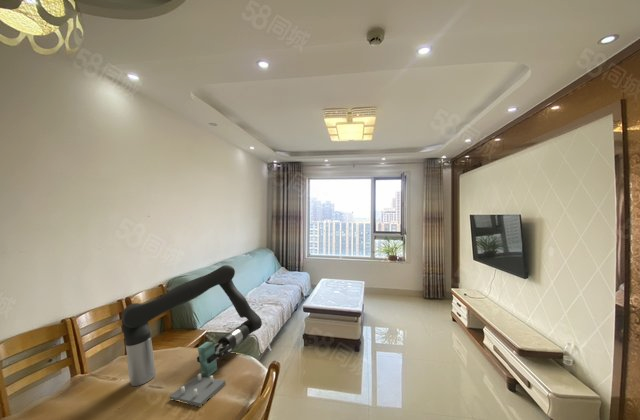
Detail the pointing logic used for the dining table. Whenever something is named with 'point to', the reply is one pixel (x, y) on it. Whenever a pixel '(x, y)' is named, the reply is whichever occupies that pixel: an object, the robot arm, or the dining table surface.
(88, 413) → the dining table surface
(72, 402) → the dining table surface
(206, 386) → the peg plate
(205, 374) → the teal post
